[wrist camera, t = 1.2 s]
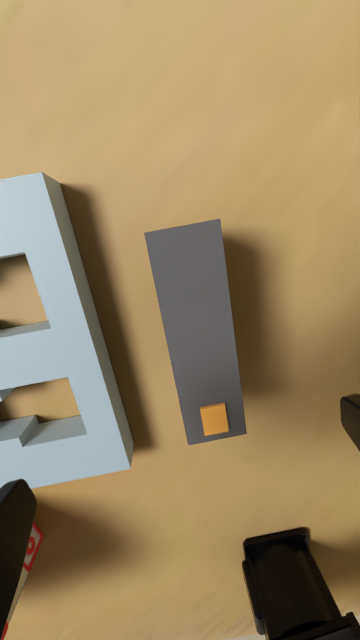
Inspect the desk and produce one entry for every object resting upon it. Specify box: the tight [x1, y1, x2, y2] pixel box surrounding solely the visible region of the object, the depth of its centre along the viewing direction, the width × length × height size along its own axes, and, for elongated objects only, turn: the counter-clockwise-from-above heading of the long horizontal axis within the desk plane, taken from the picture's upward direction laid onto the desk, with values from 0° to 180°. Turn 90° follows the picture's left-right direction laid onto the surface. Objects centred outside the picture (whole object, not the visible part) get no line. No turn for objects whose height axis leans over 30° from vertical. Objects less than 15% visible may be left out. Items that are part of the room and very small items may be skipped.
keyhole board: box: [0, 172, 134, 489], centre depth 18 cm, size 20×12×2 cm, turn 10°
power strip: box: [144, 219, 247, 445], centre depth 16 cm, size 12×4×6 cm, turn 10°
